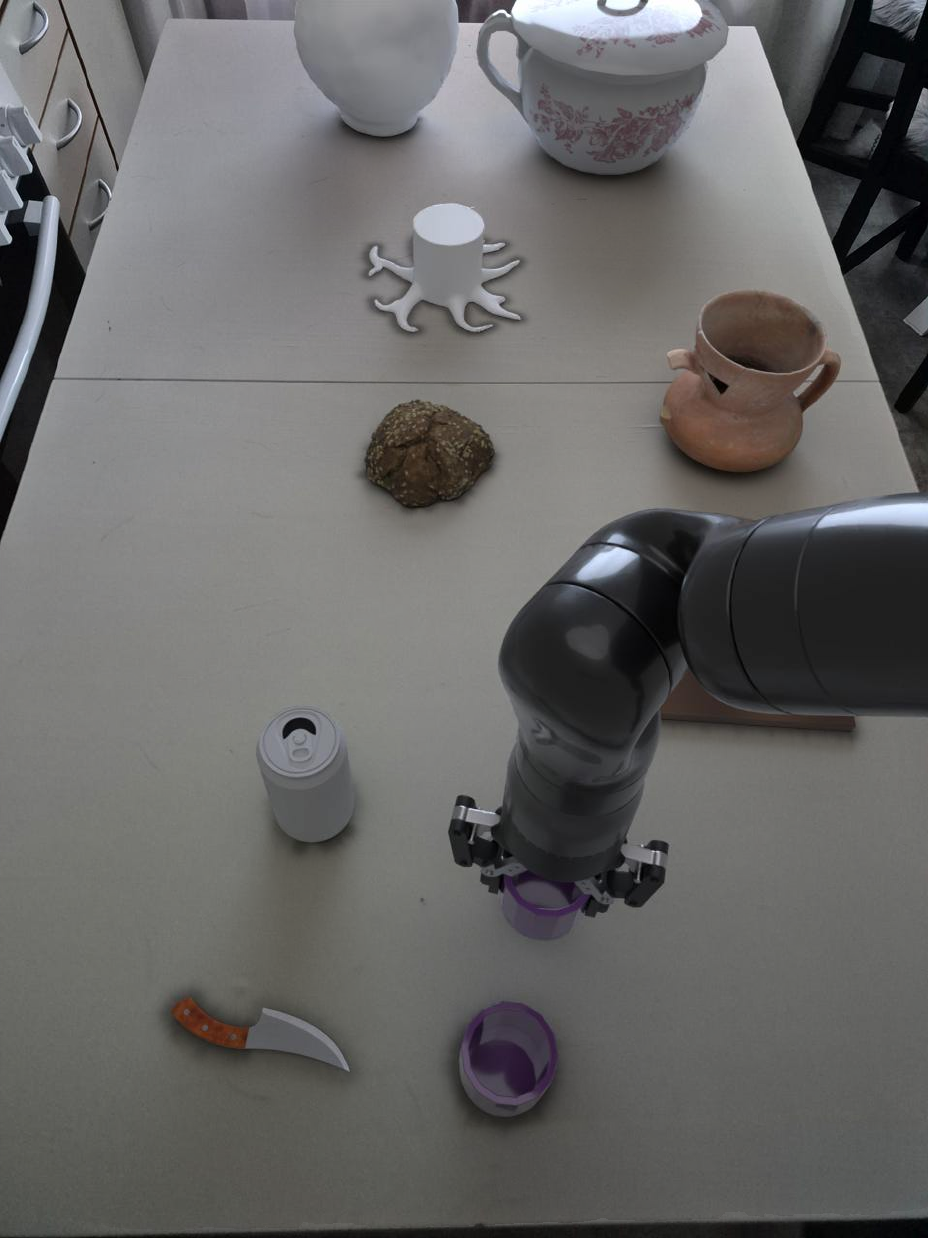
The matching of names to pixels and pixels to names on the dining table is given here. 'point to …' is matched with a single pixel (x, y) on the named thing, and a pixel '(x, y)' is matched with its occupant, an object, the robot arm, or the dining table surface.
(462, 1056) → the ramekin
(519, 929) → the ramekin
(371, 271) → the tree stump
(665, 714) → the serving board
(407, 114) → the vase
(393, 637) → the dining table surface
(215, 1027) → the knife
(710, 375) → the ceramic jug
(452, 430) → the bread roll
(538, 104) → the chamber pot
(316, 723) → the beverage can
